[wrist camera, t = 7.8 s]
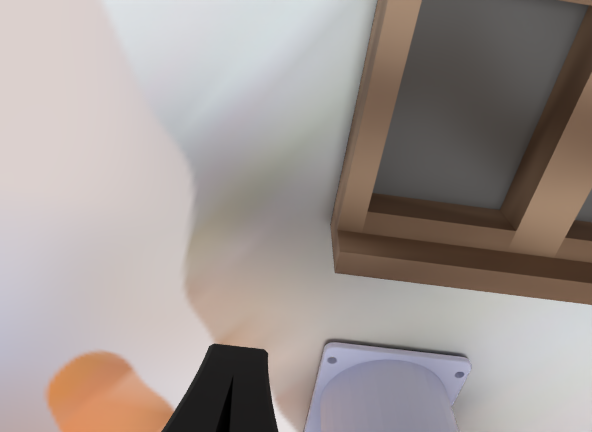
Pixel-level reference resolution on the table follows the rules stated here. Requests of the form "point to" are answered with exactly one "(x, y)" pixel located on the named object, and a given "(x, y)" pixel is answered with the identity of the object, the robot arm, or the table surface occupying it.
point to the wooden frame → (472, 149)
